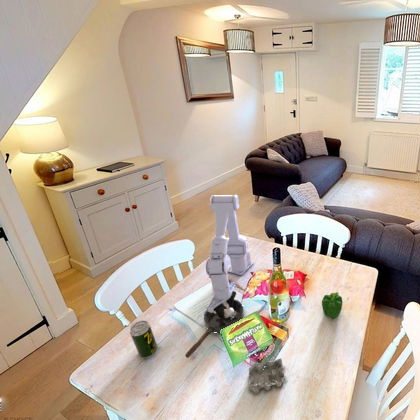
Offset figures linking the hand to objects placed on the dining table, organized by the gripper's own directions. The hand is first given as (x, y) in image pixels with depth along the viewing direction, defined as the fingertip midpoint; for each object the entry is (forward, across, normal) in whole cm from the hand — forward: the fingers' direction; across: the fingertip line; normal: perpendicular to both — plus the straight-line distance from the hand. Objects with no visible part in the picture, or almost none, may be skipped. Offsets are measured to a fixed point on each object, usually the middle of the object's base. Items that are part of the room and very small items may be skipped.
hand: (225, 312), depth 105 cm
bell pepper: (+2, -16, +39) cm, 42 cm away
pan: (+2, +2, +1) cm, 2 cm away
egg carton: (+2, +16, +28) cm, 32 cm away
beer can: (+2, +22, -14) cm, 26 cm away
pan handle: (0, +14, +1) cm, 14 cm away
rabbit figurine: (+2, 0, 0) cm, 2 cm away
